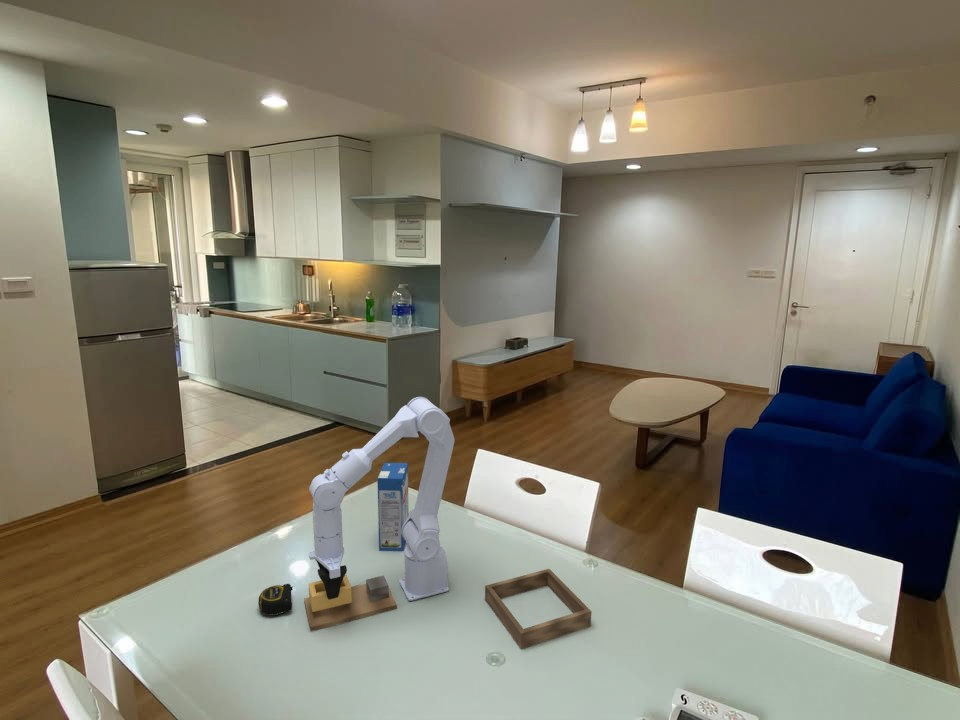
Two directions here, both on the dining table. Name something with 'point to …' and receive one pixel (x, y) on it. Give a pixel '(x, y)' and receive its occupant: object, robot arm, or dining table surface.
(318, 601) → the link
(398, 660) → the dining table surface
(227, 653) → the dining table surface
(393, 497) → the milk carton
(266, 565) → the dining table surface
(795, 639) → the dining table surface
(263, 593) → the tape measure
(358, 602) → the board
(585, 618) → the frame
